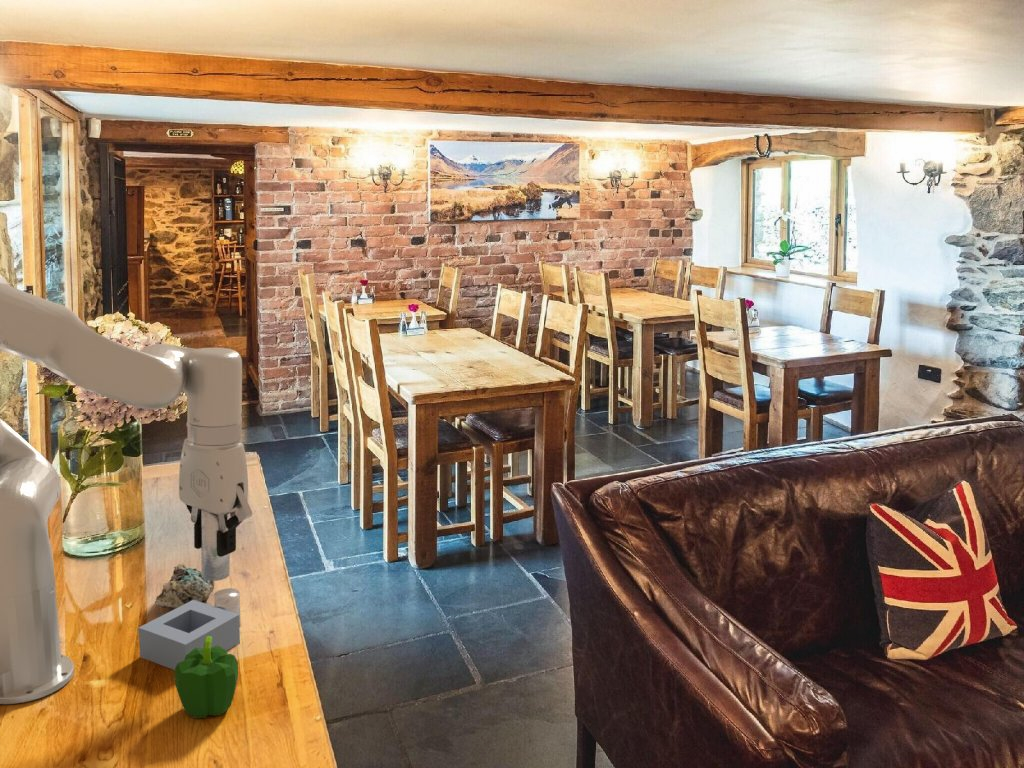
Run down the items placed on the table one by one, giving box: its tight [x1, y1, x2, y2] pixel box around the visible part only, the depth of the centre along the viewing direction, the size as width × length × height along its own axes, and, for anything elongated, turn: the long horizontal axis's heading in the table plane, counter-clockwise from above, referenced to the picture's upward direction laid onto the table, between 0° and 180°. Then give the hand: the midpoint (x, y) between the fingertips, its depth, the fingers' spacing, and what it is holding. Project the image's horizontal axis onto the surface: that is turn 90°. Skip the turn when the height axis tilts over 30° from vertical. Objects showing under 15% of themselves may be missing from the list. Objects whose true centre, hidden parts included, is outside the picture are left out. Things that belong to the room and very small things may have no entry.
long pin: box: [201, 509, 230, 582], centre depth 132 cm, size 4×4×12 cm
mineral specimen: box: [154, 562, 215, 609], centre depth 154 cm, size 12×9×8 cm
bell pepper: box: [173, 636, 239, 719], centre depth 123 cm, size 8×8×10 cm
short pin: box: [213, 587, 241, 629], centre depth 146 cm, size 4×4×6 cm
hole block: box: [138, 600, 241, 671], centre depth 139 cm, size 11×10×5 cm
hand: (215, 548), depth 132 cm, fingers closed on long pin, 4 cm apart
